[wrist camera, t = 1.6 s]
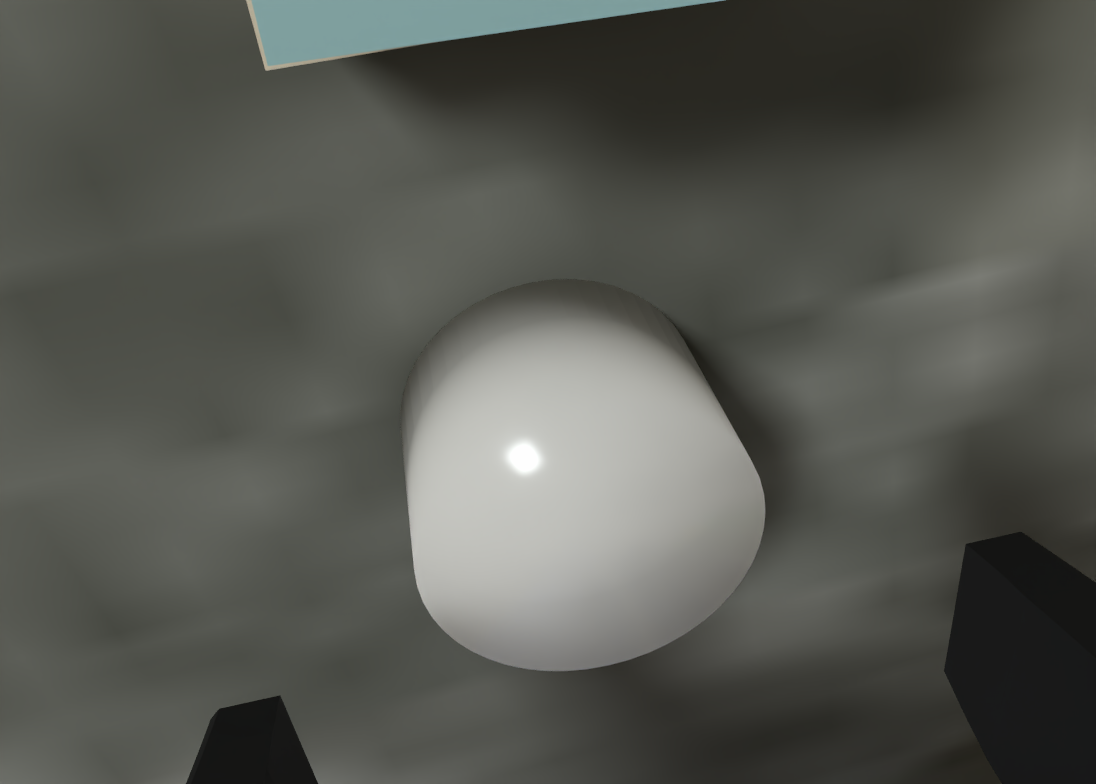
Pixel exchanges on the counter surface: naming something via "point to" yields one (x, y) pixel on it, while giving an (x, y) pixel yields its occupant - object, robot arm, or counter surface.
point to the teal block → (415, 22)
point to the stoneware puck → (572, 479)
